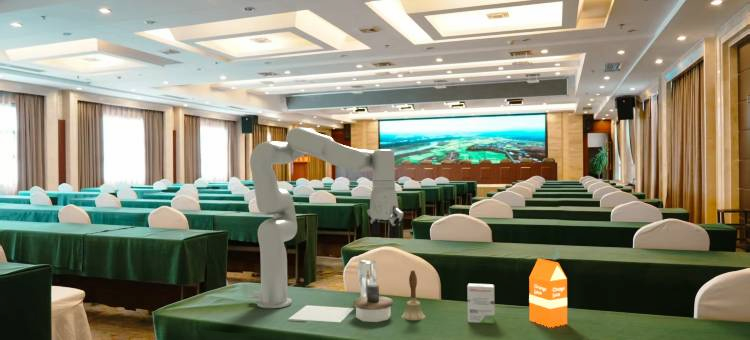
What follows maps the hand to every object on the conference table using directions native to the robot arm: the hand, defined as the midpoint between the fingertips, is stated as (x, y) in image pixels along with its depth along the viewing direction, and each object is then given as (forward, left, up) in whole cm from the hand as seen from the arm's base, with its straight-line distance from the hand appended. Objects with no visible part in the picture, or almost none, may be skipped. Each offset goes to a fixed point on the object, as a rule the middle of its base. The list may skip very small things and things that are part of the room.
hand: (385, 236), depth 175 cm
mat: (-21, -5, -27) cm, 35 cm away
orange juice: (+53, +3, -27) cm, 59 cm away
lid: (-3, -5, -22) cm, 23 cm away
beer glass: (-10, +14, -27) cm, 32 cm away
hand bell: (+10, -2, -27) cm, 29 cm away
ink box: (+32, 0, -27) cm, 42 cm away
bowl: (-3, -5, -27) cm, 28 cm away
